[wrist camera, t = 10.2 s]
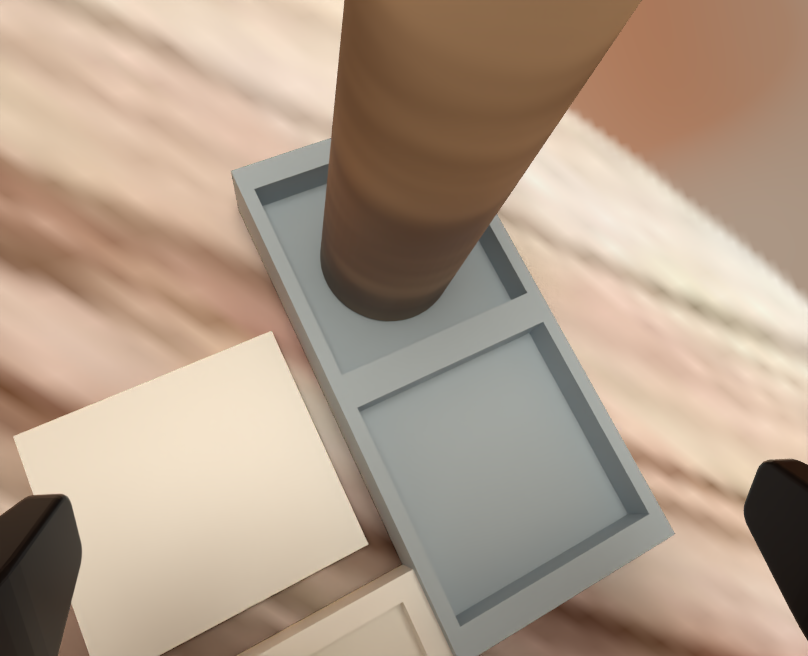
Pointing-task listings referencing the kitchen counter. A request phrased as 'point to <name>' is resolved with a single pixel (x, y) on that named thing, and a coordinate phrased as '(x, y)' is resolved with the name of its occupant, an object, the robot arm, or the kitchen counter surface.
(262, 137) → the kitchen counter surface
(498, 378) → the socket board
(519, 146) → the walnut peg
